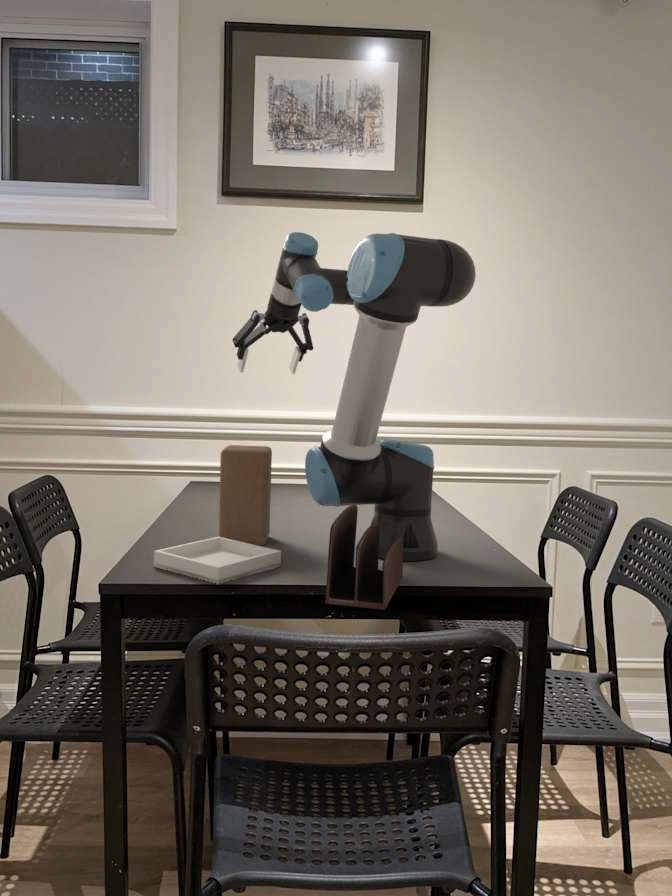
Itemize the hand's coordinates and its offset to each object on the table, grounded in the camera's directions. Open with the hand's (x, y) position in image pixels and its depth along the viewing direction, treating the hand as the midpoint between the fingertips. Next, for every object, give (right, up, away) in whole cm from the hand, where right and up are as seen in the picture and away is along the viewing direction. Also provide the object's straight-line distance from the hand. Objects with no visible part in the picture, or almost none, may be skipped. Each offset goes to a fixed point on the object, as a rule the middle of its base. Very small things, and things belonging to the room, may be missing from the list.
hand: (266, 369), depth 198 cm
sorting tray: (-5, -42, -49) cm, 65 cm away
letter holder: (+23, -44, -61) cm, 79 cm away
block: (-2, -39, -28) cm, 48 cm away
